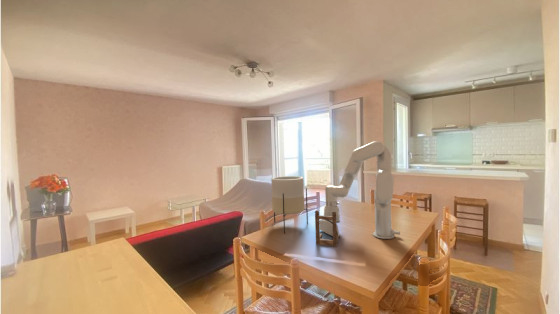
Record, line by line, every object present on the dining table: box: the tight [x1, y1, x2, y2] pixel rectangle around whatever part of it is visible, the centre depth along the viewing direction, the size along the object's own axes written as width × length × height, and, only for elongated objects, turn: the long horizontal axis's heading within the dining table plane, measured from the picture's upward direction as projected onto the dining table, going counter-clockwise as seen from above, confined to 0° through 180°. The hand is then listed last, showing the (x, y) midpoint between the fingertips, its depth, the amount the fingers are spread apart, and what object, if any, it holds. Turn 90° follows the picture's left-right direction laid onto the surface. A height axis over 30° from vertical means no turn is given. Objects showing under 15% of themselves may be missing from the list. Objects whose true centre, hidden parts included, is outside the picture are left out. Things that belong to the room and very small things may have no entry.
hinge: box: [319, 219, 342, 238], centre depth 151 cm, size 17×5×10 cm, turn 25°
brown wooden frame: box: [314, 209, 339, 248], centre depth 138 cm, size 12×11×20 cm
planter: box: [270, 175, 309, 234], centre depth 170 cm, size 26×27×36 cm
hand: (332, 230), depth 156 cm, fingers closed
